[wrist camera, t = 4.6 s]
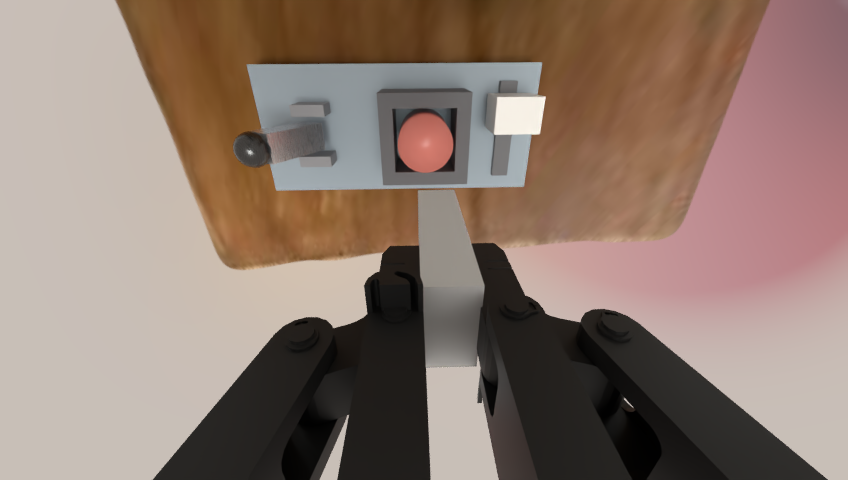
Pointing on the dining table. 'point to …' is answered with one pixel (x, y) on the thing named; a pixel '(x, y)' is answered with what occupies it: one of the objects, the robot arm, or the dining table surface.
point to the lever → (278, 143)
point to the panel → (393, 121)
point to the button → (424, 141)
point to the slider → (514, 113)
